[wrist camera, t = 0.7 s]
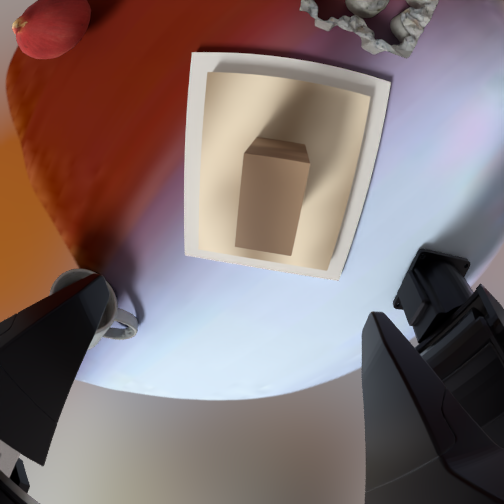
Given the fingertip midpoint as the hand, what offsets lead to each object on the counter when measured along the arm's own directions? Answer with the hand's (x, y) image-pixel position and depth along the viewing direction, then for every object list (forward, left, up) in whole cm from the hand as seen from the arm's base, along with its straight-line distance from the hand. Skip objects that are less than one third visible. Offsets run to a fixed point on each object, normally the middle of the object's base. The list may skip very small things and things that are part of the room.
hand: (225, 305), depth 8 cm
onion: (+16, -13, -13) cm, 24 cm away
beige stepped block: (-1, -1, -12) cm, 12 cm away
